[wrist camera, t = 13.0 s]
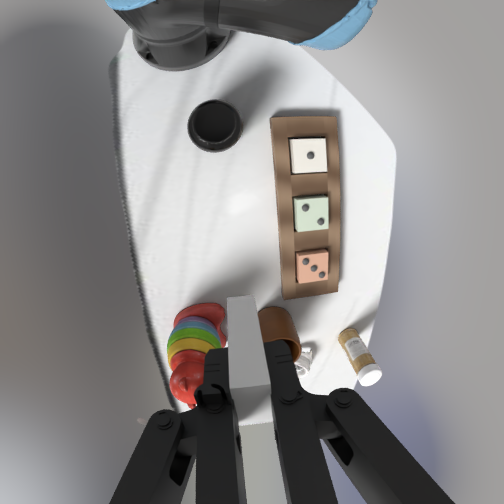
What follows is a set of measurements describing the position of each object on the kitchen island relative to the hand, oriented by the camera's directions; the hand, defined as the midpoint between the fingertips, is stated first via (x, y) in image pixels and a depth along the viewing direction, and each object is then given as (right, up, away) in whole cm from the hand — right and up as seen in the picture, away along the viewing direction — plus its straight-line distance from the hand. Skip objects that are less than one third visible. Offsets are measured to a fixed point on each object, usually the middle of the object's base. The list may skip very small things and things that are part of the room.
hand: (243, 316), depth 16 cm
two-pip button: (+10, +10, +28) cm, 32 cm away
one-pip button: (+9, +19, +25) cm, 32 cm away
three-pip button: (+10, +2, +32) cm, 34 cm away
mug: (+5, -11, +37) cm, 39 cm away
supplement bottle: (-5, +22, +23) cm, 32 cm away
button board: (+9, +10, +29) cm, 32 cm away
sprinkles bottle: (+21, -14, +40) cm, 47 cm away
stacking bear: (-10, -10, +35) cm, 38 cm away
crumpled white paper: (+10, -19, +41) cm, 47 cm away
